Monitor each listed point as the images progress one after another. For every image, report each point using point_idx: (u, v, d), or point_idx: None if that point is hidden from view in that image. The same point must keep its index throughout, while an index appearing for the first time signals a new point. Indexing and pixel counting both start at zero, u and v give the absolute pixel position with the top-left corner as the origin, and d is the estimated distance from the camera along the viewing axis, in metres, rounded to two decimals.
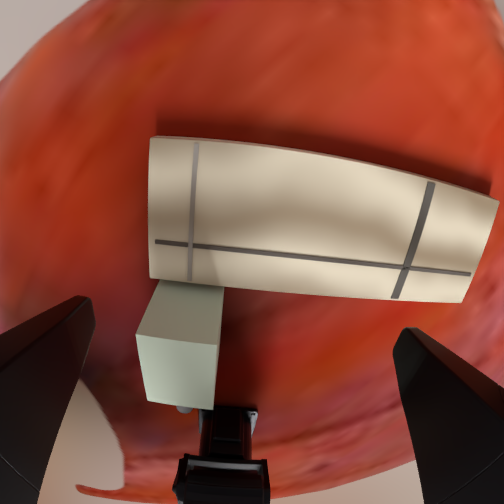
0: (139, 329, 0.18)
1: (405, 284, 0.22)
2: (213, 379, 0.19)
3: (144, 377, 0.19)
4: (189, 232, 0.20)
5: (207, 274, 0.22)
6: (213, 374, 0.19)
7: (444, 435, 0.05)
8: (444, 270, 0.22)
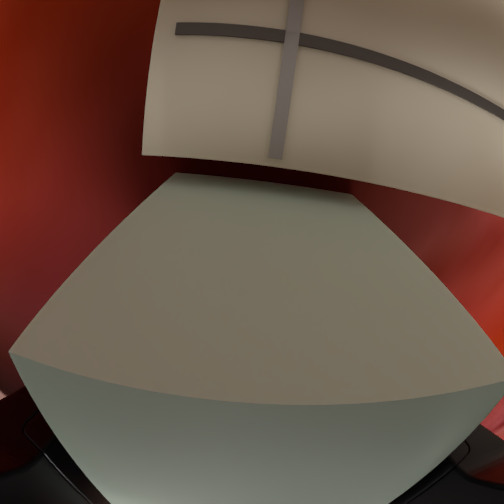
0: (41, 321, 0.02)
1: None
2: (393, 499, 0.04)
3: None
4: (292, 3, 0.05)
5: (336, 139, 0.06)
6: (406, 488, 0.03)
7: None
8: None
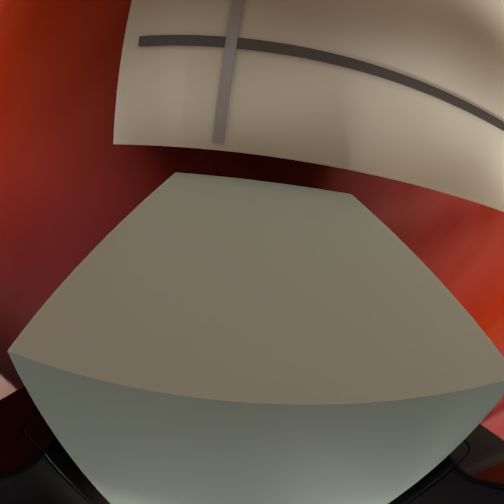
0: (40, 321, 0.02)
1: None
2: (392, 499, 0.04)
3: None
4: (232, 13, 0.06)
5: (270, 124, 0.08)
6: (405, 488, 0.03)
7: None
8: None
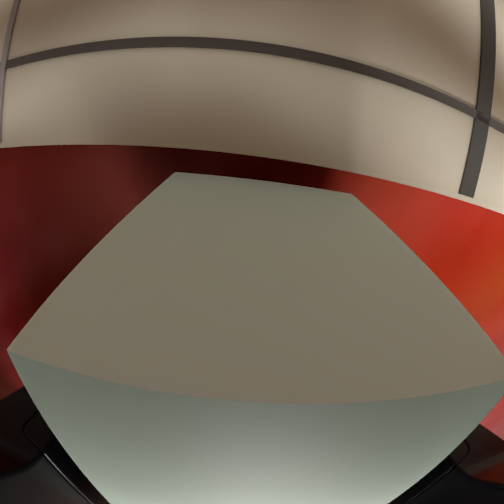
0: (39, 320, 0.02)
1: (484, 162, 0.08)
2: (392, 499, 0.04)
3: None
4: (6, 42, 0.06)
5: (23, 121, 0.07)
6: (405, 488, 0.03)
7: None
8: None
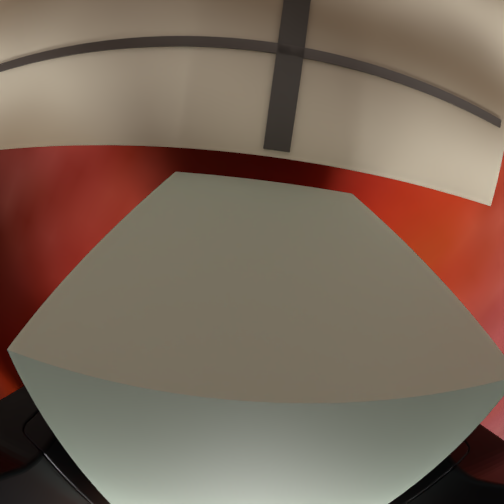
0: (40, 319, 0.02)
1: (303, 105, 0.07)
2: (393, 498, 0.04)
3: None
4: None
5: None
6: (406, 487, 0.03)
7: None
8: (426, 86, 0.07)
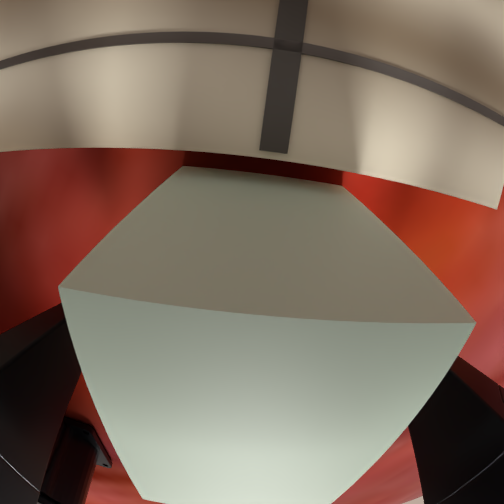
0: (84, 267, 0.03)
1: (302, 103, 0.07)
2: (380, 454, 0.04)
3: (125, 460, 0.05)
4: None
5: None
6: (390, 440, 0.04)
7: (444, 435, 0.05)
8: (431, 83, 0.06)
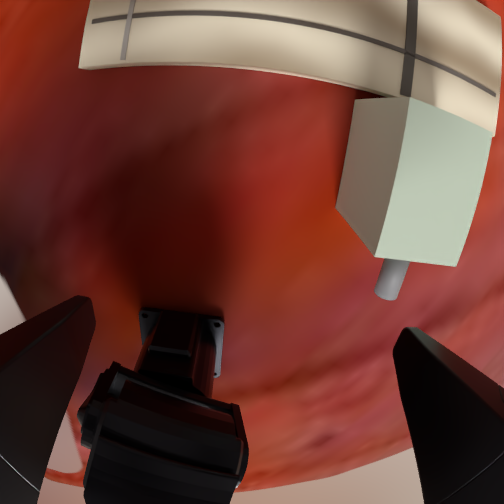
0: None
1: (415, 78, 0.14)
2: (478, 196, 0.11)
3: (394, 194, 0.12)
4: (131, 3, 0.12)
5: (145, 48, 0.13)
6: (480, 185, 0.11)
7: (444, 435, 0.05)
8: (461, 75, 0.13)
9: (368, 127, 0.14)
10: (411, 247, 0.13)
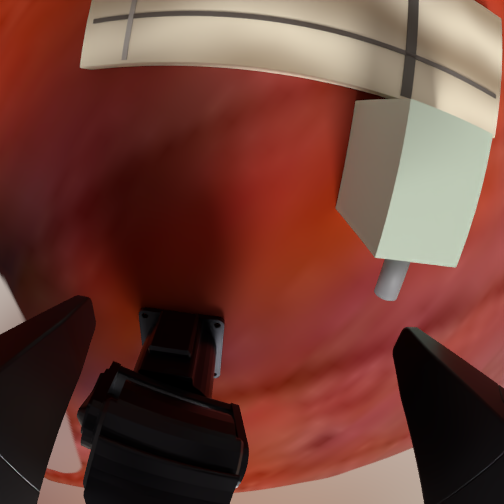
0: (407, 99, 0.10)
1: (415, 79, 0.14)
2: (478, 197, 0.11)
3: (394, 195, 0.12)
4: (132, 3, 0.12)
5: (147, 48, 0.13)
6: (480, 187, 0.11)
7: (444, 435, 0.05)
8: (461, 77, 0.13)
9: (369, 128, 0.14)
10: (411, 248, 0.13)
